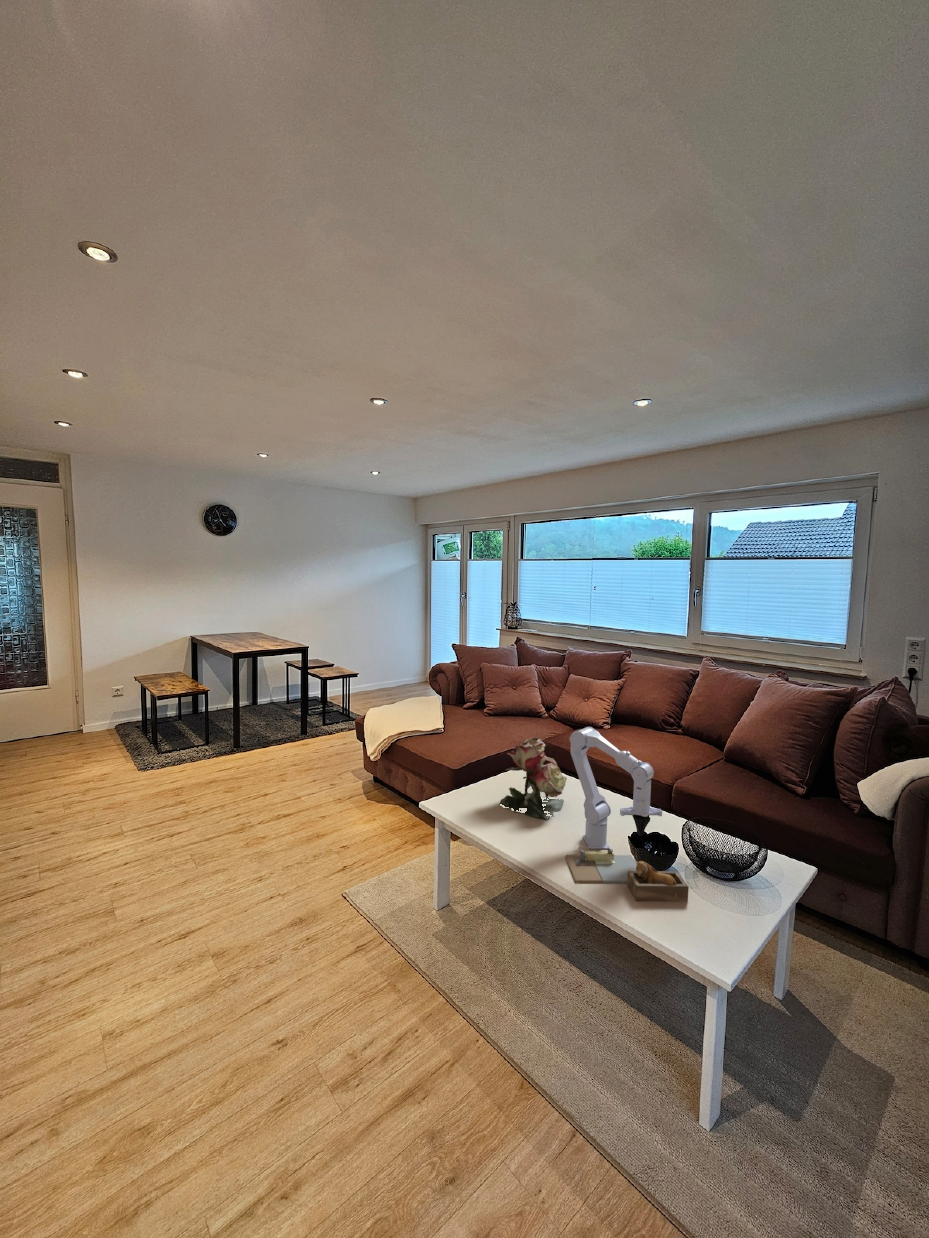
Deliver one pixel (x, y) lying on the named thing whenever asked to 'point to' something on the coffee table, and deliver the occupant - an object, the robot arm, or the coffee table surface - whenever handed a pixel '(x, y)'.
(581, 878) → the door board
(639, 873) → the lion figurine
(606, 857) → the latch bar
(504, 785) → the coffee table surface
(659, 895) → the display tray
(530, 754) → the rose bouquet
